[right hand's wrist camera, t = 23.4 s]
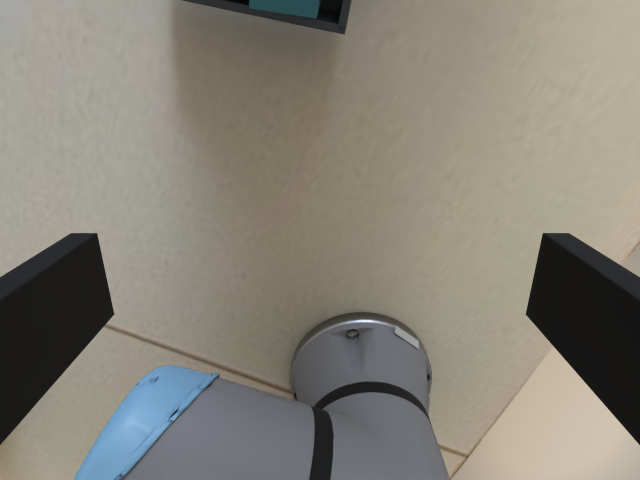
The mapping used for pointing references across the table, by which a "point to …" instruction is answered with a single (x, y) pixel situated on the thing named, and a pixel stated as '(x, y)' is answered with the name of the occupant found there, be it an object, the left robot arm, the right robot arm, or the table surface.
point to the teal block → (288, 7)
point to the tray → (328, 17)
